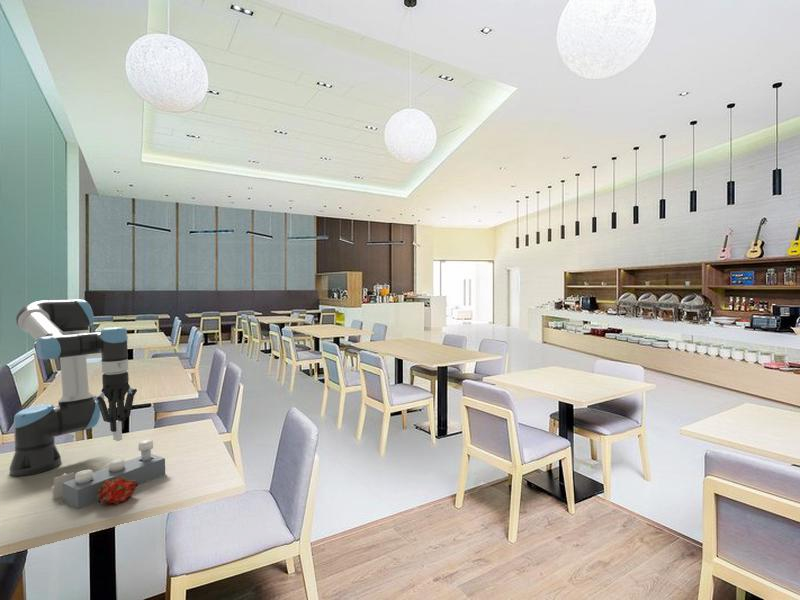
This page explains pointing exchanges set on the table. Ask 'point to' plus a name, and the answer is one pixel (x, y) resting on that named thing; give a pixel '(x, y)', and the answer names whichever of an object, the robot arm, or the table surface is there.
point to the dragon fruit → (116, 490)
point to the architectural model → (60, 484)
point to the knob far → (145, 449)
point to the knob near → (83, 476)
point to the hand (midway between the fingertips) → (117, 439)
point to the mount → (132, 471)
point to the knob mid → (116, 465)
